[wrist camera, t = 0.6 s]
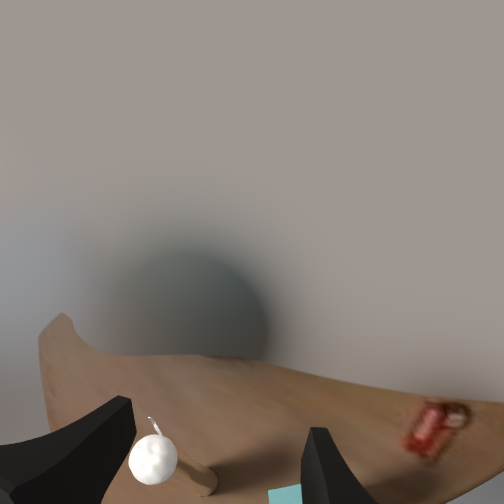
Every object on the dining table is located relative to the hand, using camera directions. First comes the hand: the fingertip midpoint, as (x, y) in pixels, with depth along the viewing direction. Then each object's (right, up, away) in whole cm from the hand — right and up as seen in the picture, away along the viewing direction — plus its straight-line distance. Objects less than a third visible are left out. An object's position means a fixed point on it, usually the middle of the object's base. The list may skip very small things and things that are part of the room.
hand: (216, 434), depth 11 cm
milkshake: (-3, -15, +14) cm, 20 cm away
